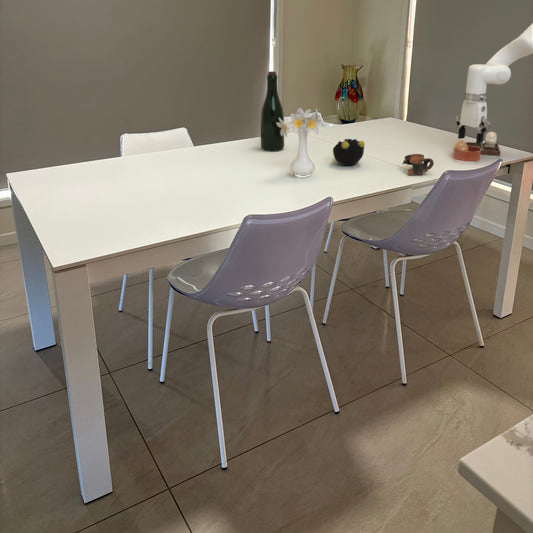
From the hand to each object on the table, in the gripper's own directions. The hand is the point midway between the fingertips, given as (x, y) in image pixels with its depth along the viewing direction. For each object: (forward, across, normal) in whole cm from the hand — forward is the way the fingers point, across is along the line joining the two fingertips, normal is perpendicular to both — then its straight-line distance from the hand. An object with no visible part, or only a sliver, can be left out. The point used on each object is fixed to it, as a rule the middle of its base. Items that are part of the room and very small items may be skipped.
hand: (470, 140), depth 240 cm
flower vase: (+6, +14, +72) cm, 74 cm away
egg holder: (+8, +5, -14) cm, 17 cm away
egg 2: (+8, +5, -18) cm, 20 cm away
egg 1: (+7, 0, +1) cm, 7 cm away
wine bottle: (+6, +57, +61) cm, 83 cm away
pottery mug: (+7, -4, +31) cm, 32 cm away
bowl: (+8, 0, +1) cm, 8 cm away
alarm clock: (+7, +19, +47) cm, 52 cm away
